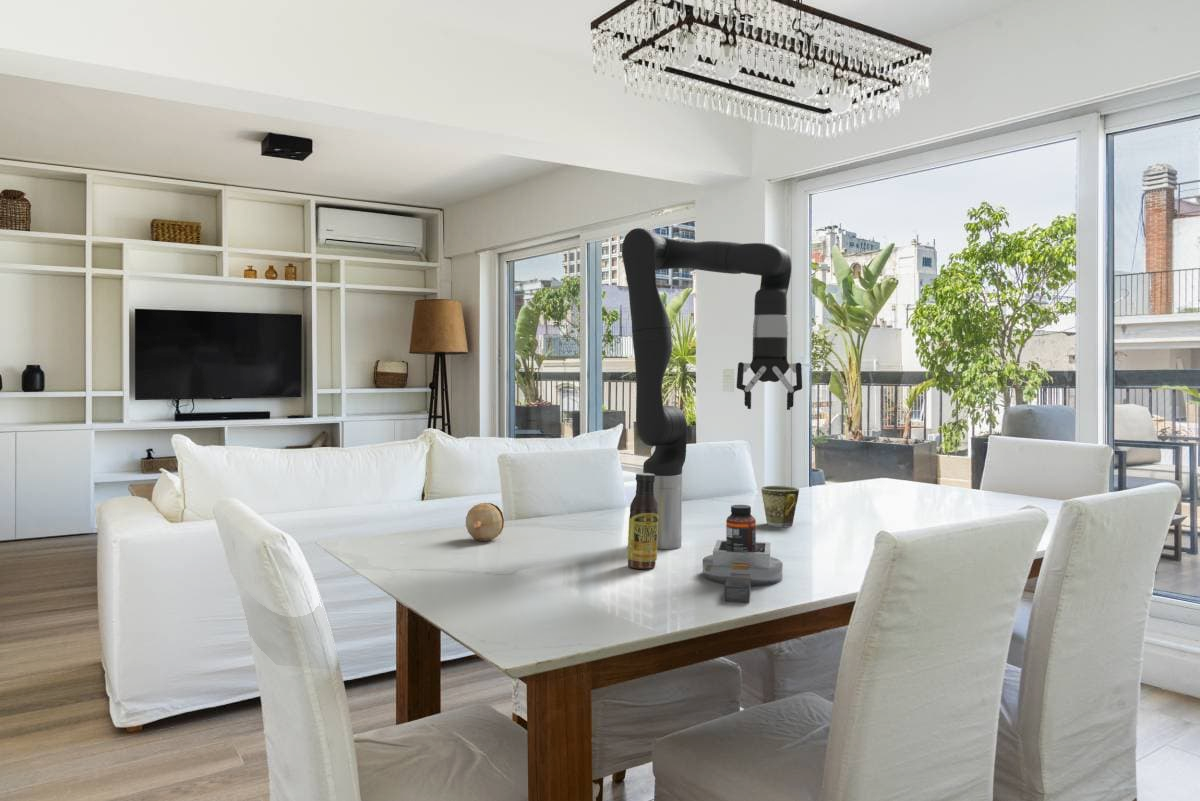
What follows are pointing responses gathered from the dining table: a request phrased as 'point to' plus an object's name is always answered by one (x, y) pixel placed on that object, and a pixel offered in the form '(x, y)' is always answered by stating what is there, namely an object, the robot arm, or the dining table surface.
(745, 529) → the supplement bottle
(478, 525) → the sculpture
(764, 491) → the ceramic cup
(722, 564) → the grey platform stand
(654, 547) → the sauce bottle
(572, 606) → the dining table surface
